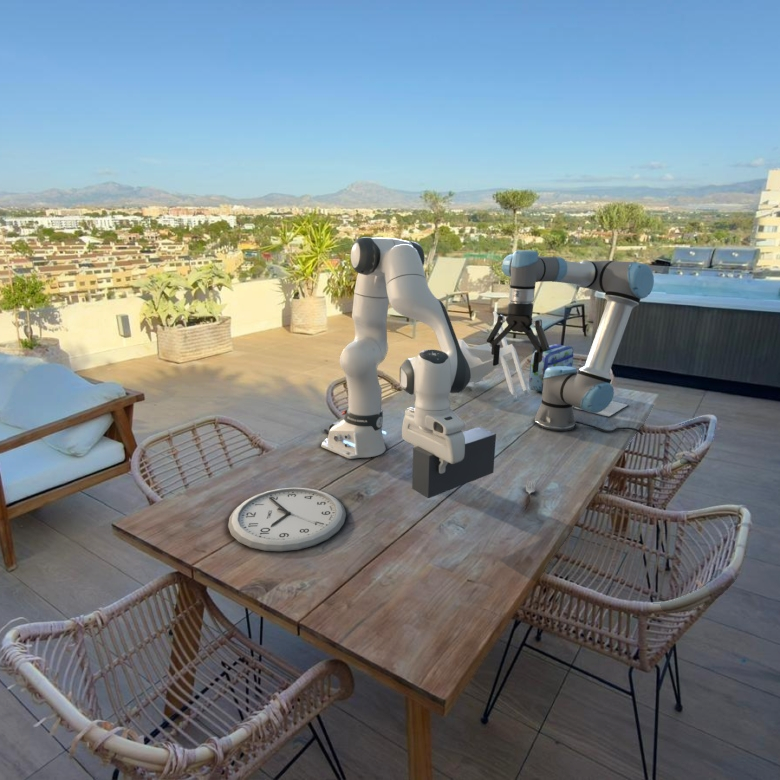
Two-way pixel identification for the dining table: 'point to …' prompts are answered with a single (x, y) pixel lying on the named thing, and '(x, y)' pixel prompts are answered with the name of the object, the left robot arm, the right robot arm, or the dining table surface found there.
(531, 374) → the lunch box
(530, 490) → the fork
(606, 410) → the invitation card
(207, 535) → the dining table surface
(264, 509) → the wall clock
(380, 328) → the left robot arm
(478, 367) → the white plastic object
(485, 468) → the box
